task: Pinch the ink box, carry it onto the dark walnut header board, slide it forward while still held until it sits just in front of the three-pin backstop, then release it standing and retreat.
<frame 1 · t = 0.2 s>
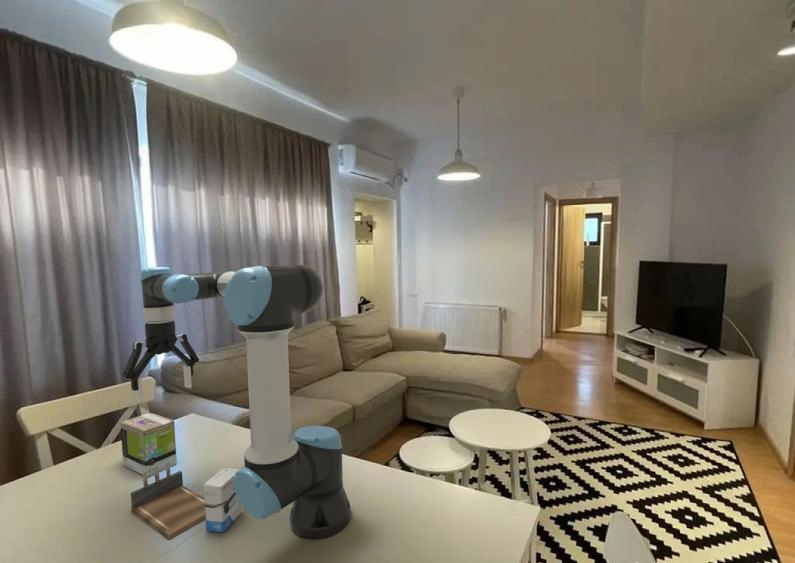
hand: (165, 393, 121), 28 cm above the table, fingers open, 13 cm apart
tea box: (150, 465, 135), on the table
ink box: (225, 521, 106), on the table
header board: (175, 511, 110), on the table
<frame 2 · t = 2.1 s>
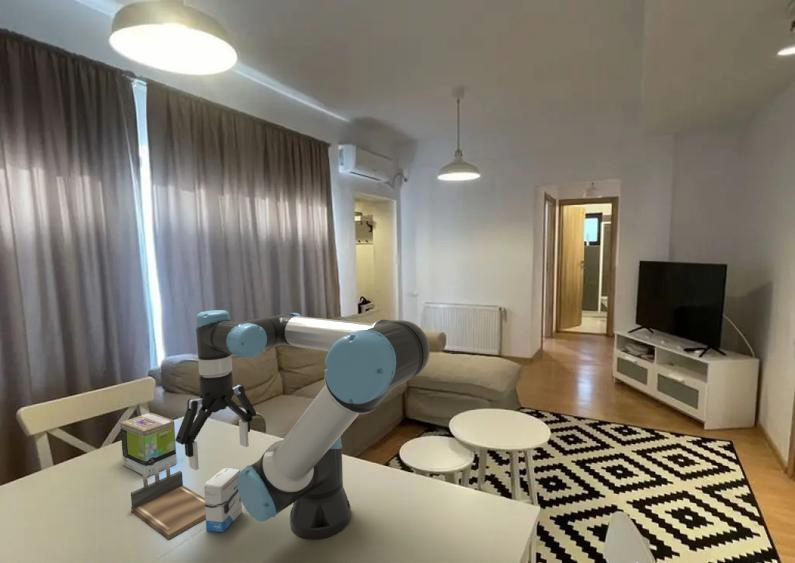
hand: (220, 456, 105), 17 cm above the table, fingers open, 13 cm apart
nothing on the table moved.
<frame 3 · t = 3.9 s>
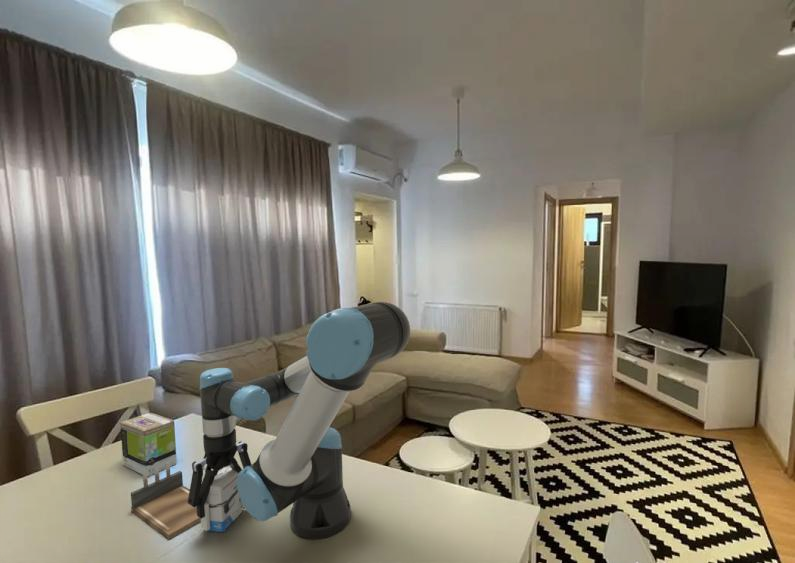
hand: (224, 516, 106), 1 cm above the table, fingers closed on ink box, 9 cm apart
ink box: (225, 521, 106), on the table, touching gripper
everything else where it was.
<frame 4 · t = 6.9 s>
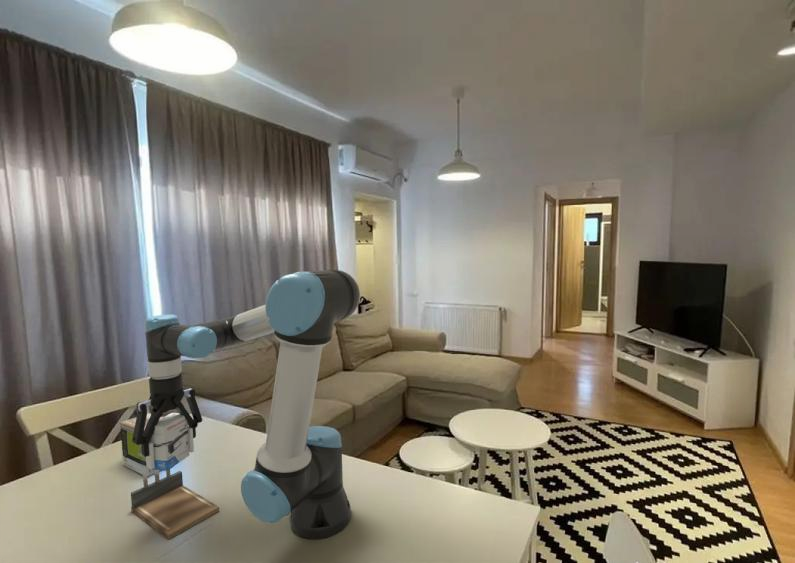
hand: (171, 458, 109), 14 cm above the table, fingers closed on ink box, 9 cm apart
ink box: (171, 463, 109), point 13 cm above the table, touching gripper
everything else where it was.
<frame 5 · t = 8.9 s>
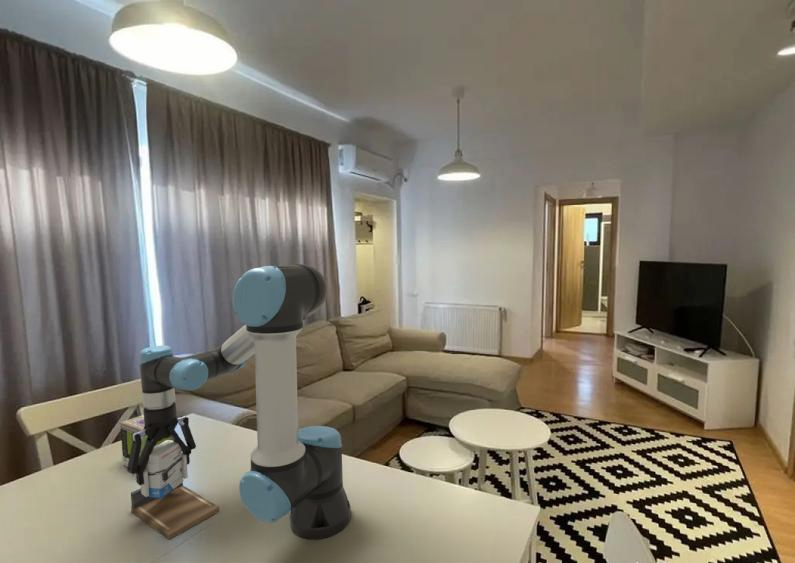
hand: (165, 485, 112), 6 cm above the table, fingers closed on ink box, 9 cm apart
ink box: (165, 489, 113), point 4 cm above the table, touching gripper
everything else where it was.
when the fingers open (5 cm above the table, at t = 10.2 s): ink box drops 2 cm, resting on header board.
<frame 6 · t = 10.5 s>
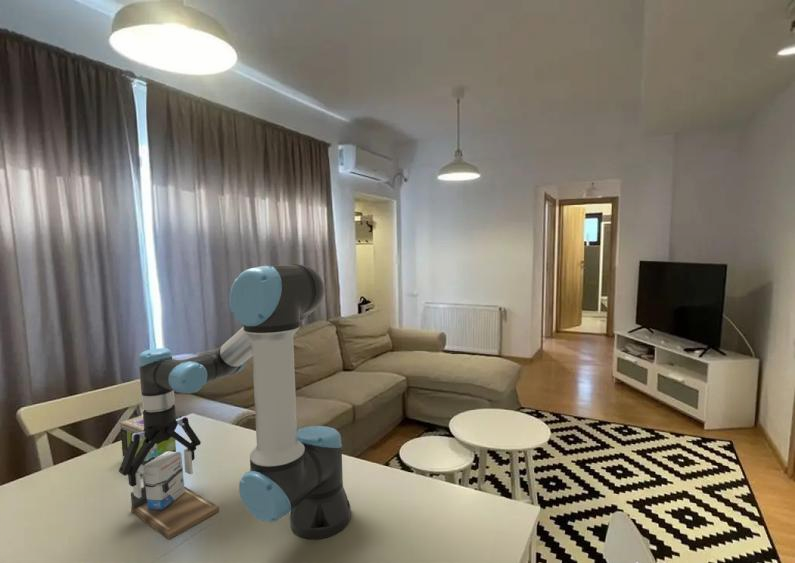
hand: (164, 483, 113), 6 cm above the table, fingers open, 13 cm apart
ink box: (167, 501, 113), point 1 cm above the table, touching header board
everything else where it was.
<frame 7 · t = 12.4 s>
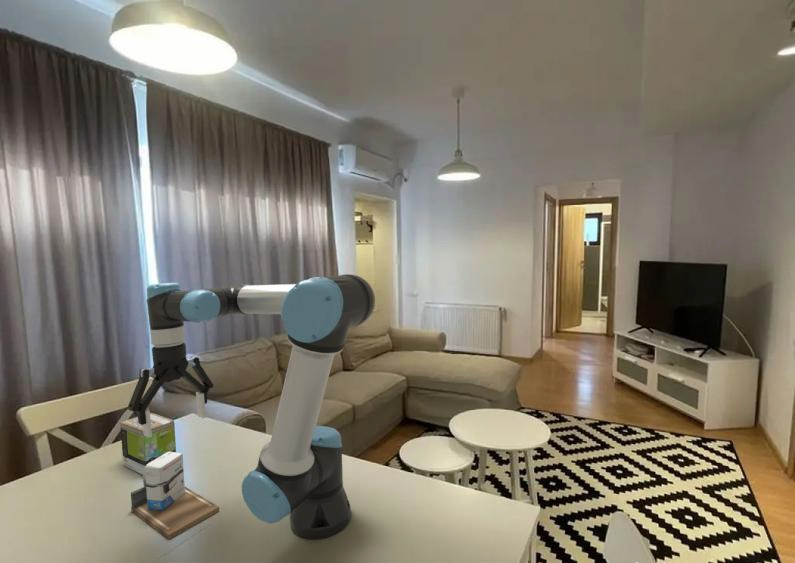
hand: (176, 426, 107), 24 cm above the table, fingers open, 13 cm apart
nothing on the table moved.
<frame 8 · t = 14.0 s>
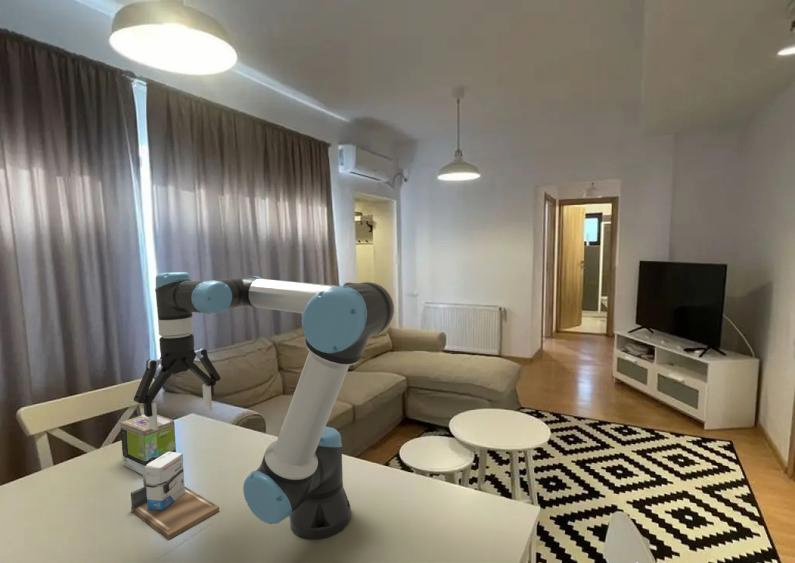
hand: (182, 418, 104), 27 cm above the table, fingers open, 13 cm apart
nothing on the table moved.
at the end: ink box 0.5 cm from the target spot, point 1.0 cm above the table; ink box tilted 0°; the gripper is holding nothing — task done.
